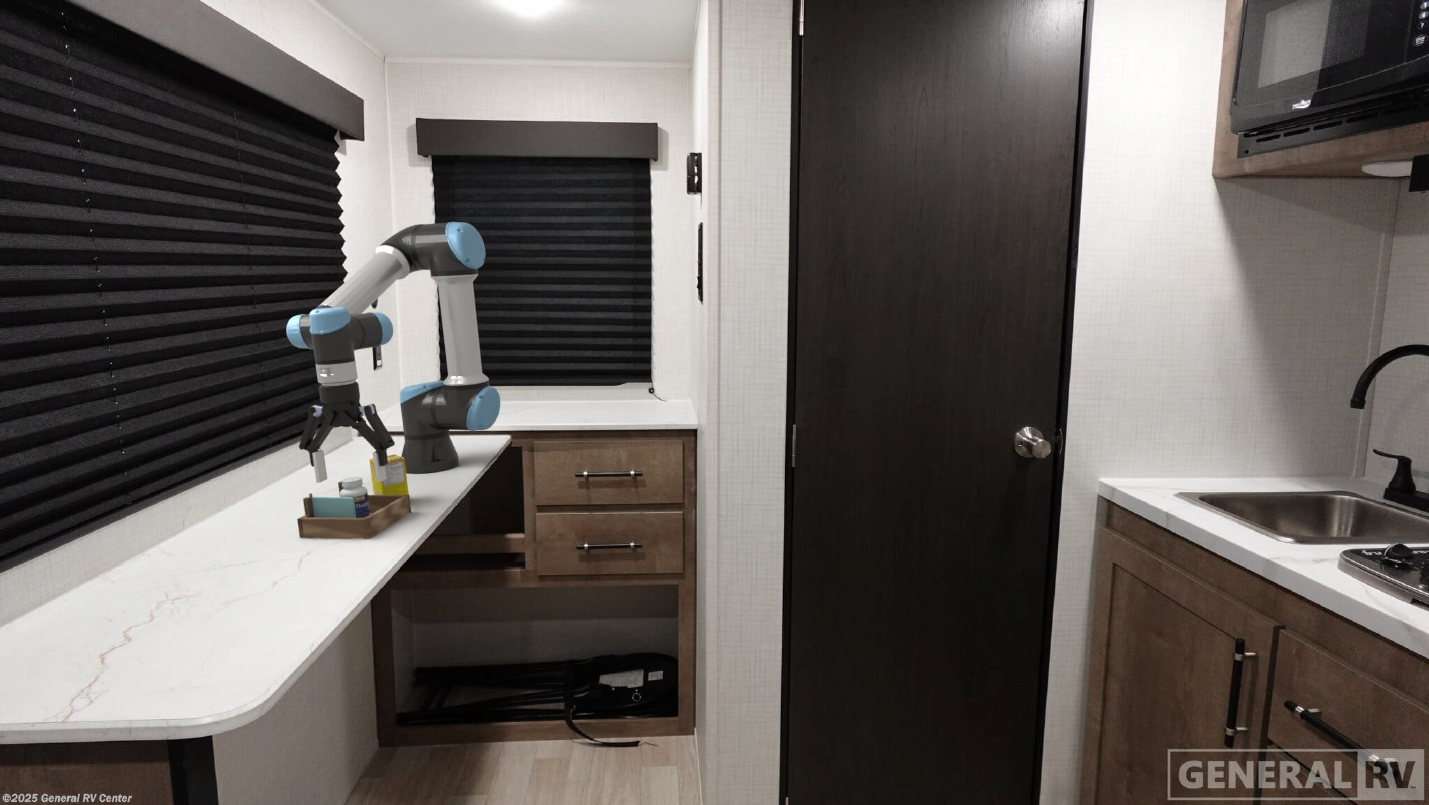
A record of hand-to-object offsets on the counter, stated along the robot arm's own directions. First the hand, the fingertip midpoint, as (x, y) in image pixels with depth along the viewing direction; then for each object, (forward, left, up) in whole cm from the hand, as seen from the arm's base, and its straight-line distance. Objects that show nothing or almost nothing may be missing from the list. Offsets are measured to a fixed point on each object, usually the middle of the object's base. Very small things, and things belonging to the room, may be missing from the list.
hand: (351, 480), depth 166 cm
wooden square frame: (+2, +2, -9) cm, 9 cm away
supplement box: (-13, +1, -9) cm, 16 cm away
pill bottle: (+1, +1, -9) cm, 9 cm away
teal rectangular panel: (+7, 0, -9) cm, 11 cm away
